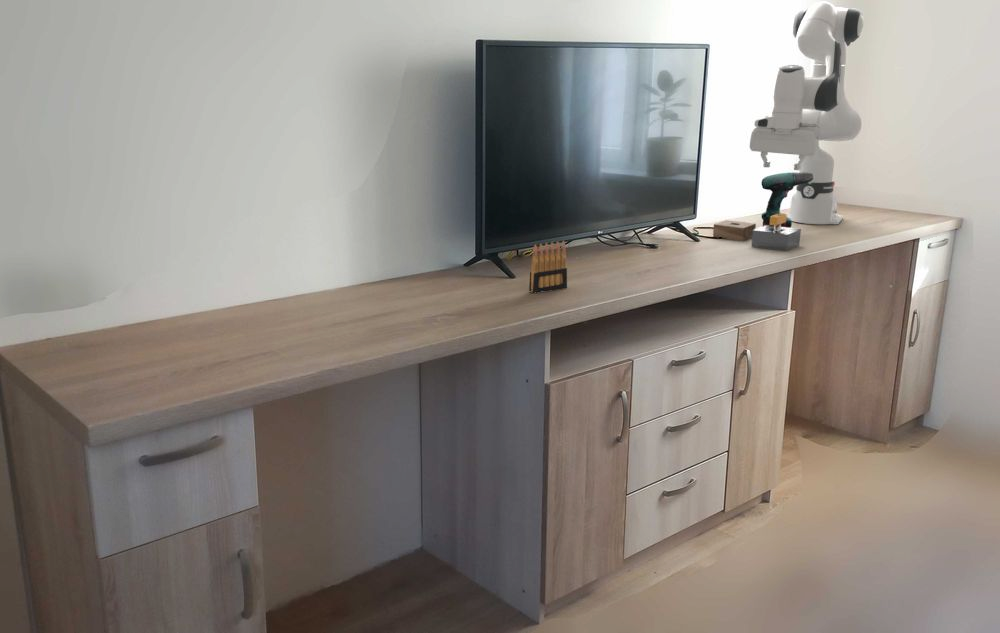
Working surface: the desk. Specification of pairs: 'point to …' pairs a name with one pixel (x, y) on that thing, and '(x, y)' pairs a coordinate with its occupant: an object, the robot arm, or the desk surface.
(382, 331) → the desk surface
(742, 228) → the wooden square hole block
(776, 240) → the block
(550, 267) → the ammunition clip
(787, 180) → the power drill
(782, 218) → the block
